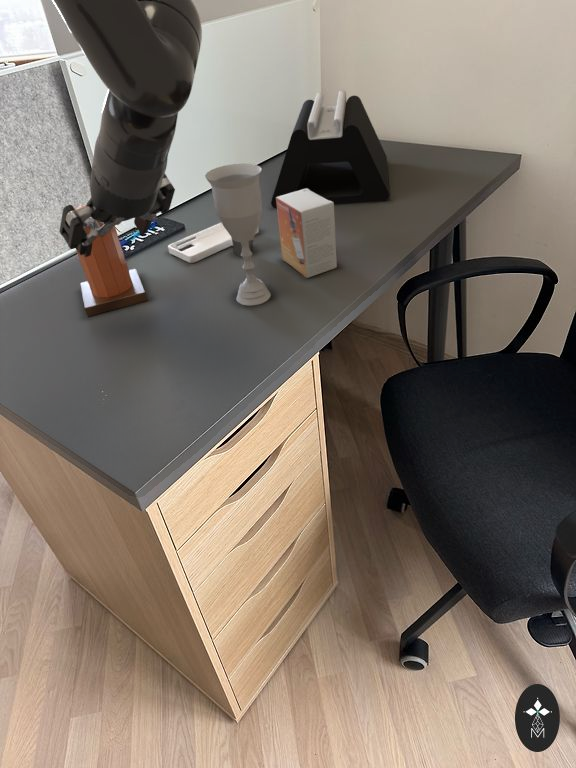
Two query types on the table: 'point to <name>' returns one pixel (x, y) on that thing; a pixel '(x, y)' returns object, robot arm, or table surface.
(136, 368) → the table surface
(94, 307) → the stand
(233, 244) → the milkshake
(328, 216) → the small box
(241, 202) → the chalice
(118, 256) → the cup
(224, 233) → the phone case
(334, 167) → the device stand
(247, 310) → the table surface
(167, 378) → the table surface
